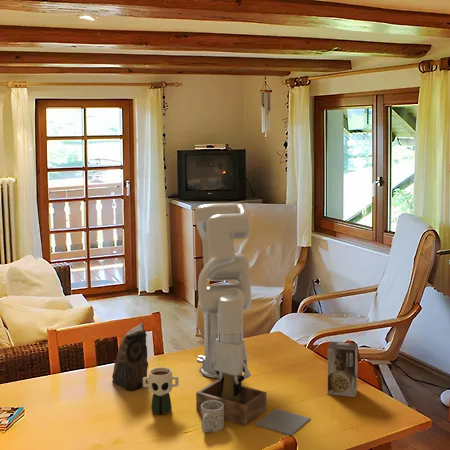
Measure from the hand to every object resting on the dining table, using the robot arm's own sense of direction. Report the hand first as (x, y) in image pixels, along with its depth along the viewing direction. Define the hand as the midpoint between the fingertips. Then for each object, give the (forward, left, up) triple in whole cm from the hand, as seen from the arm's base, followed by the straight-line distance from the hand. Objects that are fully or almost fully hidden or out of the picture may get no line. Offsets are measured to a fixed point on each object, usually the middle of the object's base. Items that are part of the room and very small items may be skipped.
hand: (230, 391), depth 197 cm
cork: (0, 0, -3) cm, 3 cm away
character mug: (-17, -13, -6) cm, 22 cm away
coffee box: (+24, +30, -6) cm, 39 cm away
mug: (+2, -14, -6) cm, 15 cm away
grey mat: (+18, +1, -6) cm, 19 cm away
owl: (-40, -2, -6) cm, 41 cm away
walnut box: (+1, -1, -6) cm, 6 cm away
